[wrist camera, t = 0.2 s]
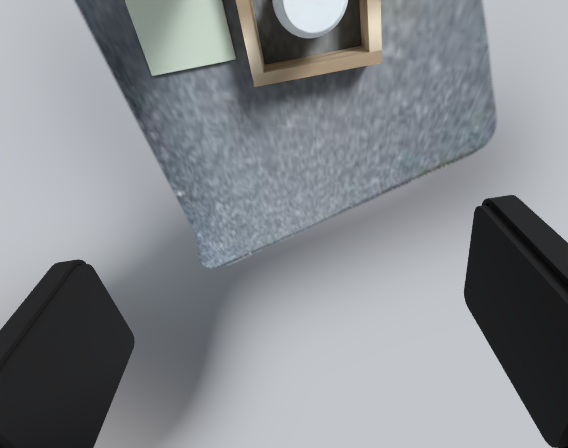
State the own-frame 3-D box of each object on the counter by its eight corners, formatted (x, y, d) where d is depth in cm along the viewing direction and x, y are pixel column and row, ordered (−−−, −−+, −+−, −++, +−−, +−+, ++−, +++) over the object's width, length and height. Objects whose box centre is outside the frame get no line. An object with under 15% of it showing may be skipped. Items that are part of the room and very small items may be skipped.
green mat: (116, -26, 30) (115, -27, 30) (210, -48, 29) (210, -48, 29) (153, 75, 35) (152, 76, 34) (235, 58, 34) (235, 59, 34)
